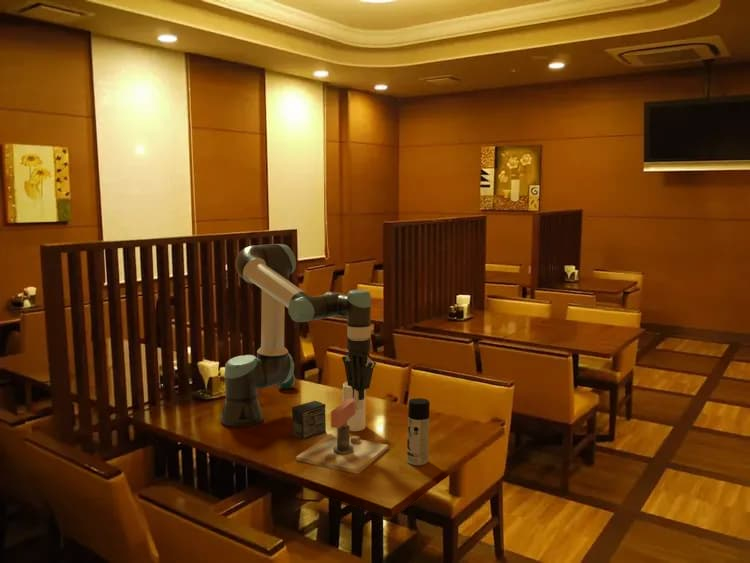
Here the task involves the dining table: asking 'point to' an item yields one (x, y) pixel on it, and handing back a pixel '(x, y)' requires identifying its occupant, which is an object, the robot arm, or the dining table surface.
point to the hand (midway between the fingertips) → (358, 408)
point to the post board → (343, 452)
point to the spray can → (418, 431)
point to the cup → (359, 417)
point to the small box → (308, 420)
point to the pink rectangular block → (342, 414)
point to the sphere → (288, 383)
